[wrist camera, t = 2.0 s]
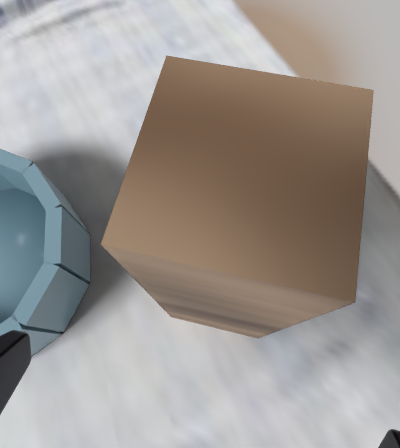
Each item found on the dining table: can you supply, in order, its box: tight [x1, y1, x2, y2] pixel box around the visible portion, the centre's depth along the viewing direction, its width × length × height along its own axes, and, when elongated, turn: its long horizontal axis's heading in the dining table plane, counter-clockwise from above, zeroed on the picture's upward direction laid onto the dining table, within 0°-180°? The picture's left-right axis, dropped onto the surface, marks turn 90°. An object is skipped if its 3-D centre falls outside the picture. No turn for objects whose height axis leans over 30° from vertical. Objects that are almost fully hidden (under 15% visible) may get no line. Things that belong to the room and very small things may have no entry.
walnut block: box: [101, 56, 373, 338], centre depth 14 cm, size 5×5×14 cm
